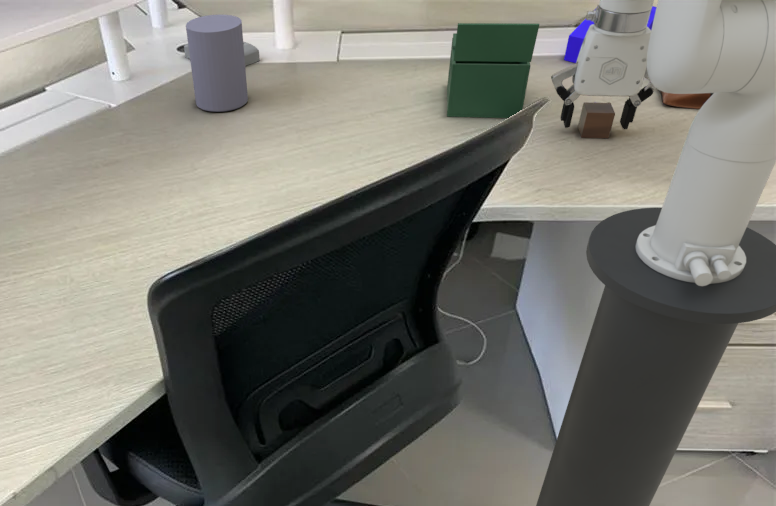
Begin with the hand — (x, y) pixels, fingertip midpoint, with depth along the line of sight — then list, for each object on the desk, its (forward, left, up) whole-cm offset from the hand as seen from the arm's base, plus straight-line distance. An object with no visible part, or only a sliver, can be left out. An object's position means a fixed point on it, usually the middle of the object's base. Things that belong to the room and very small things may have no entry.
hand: (594, 125), depth 120 cm
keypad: (+33, +74, -1) cm, 81 cm away
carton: (+12, +18, -1) cm, 22 cm away
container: (+9, +68, -1) cm, 69 cm away
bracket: (+39, -11, -1) cm, 40 cm away
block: (0, 0, -1) cm, 1 cm away
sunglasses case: (+20, -18, -1) cm, 27 cm away
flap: (+4, +18, +12) cm, 22 cm away
